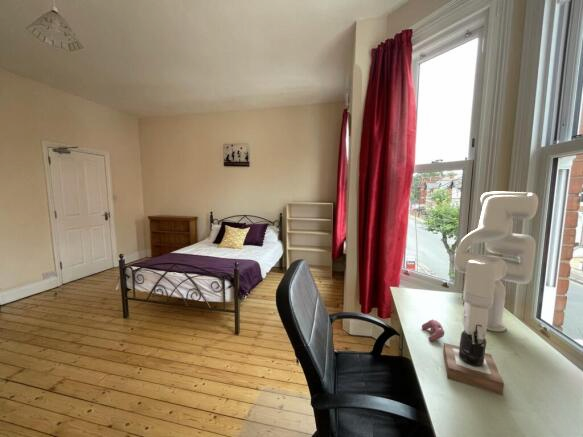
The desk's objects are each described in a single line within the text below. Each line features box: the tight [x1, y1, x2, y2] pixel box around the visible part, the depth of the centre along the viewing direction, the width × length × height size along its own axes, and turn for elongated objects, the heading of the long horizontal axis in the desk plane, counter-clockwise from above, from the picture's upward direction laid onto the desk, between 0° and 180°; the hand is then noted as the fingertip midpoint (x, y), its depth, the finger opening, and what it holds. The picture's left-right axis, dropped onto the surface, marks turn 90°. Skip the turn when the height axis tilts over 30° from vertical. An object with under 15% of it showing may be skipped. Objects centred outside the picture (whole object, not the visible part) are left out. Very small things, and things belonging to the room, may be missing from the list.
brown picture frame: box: [442, 342, 505, 396], centre depth 82 cm, size 14×14×4 cm
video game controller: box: [421, 318, 445, 342], centre depth 101 cm, size 10×5×7 cm, turn 169°
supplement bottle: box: [459, 330, 487, 367], centre depth 80 cm, size 7×7×12 cm
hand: (472, 346), depth 81 cm, fingers open, 9 cm apart
